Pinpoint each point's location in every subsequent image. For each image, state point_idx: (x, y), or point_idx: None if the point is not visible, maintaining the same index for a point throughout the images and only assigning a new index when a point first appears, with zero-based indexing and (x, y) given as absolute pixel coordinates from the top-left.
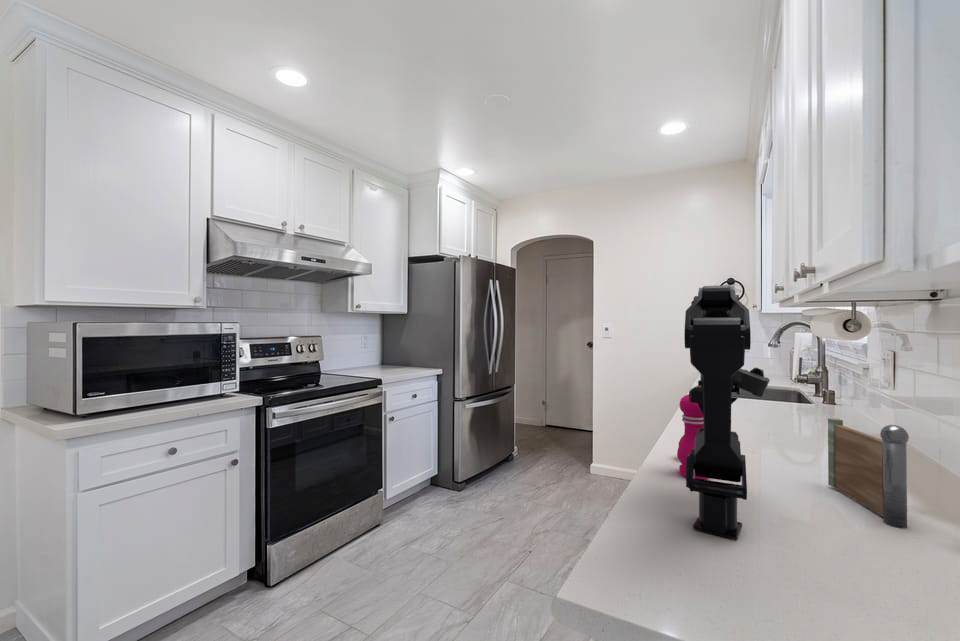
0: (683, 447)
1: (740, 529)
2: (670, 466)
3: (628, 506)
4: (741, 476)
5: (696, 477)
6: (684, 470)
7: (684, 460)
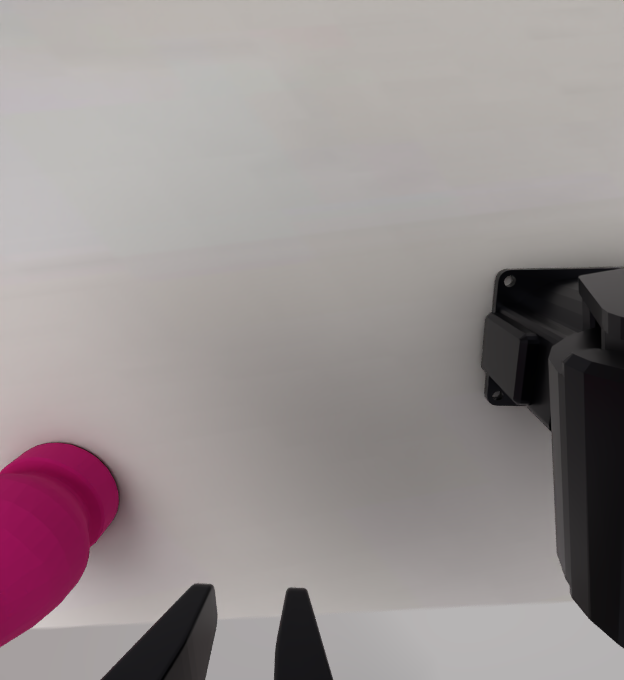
0: (35, 620)
1: (559, 268)
2: None
3: (523, 592)
4: (590, 310)
5: (109, 480)
6: (103, 531)
7: (86, 564)
